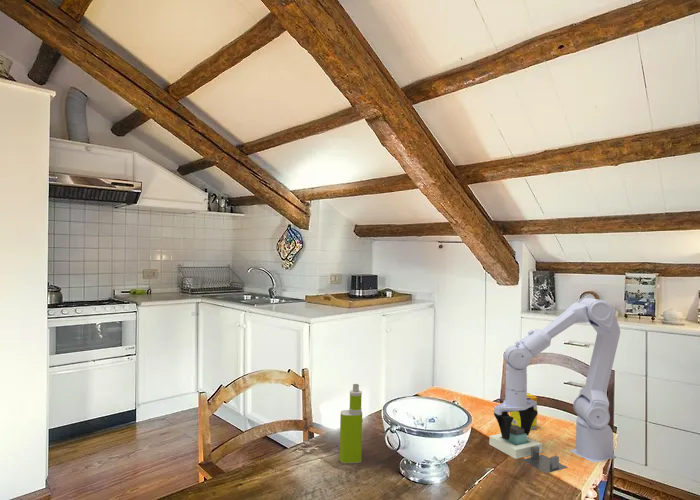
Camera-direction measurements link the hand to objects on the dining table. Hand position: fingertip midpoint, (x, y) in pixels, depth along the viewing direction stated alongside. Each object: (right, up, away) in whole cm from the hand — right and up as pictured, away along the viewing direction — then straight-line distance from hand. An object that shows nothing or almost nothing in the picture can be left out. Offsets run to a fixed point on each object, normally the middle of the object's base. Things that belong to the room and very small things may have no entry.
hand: (515, 436), depth 124 cm
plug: (0, -4, 0) cm, 4 cm away
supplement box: (+9, -5, +16) cm, 19 cm away
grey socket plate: (+4, -4, -9) cm, 11 cm away
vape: (-47, -3, -8) cm, 48 cm away
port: (0, -4, 0) cm, 4 cm away
